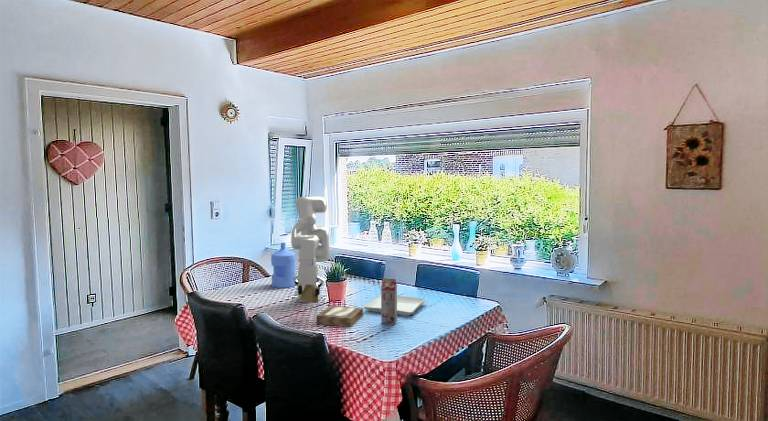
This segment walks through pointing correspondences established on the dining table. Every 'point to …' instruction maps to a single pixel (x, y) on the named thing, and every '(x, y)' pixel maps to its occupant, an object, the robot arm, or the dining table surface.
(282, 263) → the water jug
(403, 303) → the square plate
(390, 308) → the juice carton
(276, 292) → the dining table surface
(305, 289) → the rock
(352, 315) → the stand
